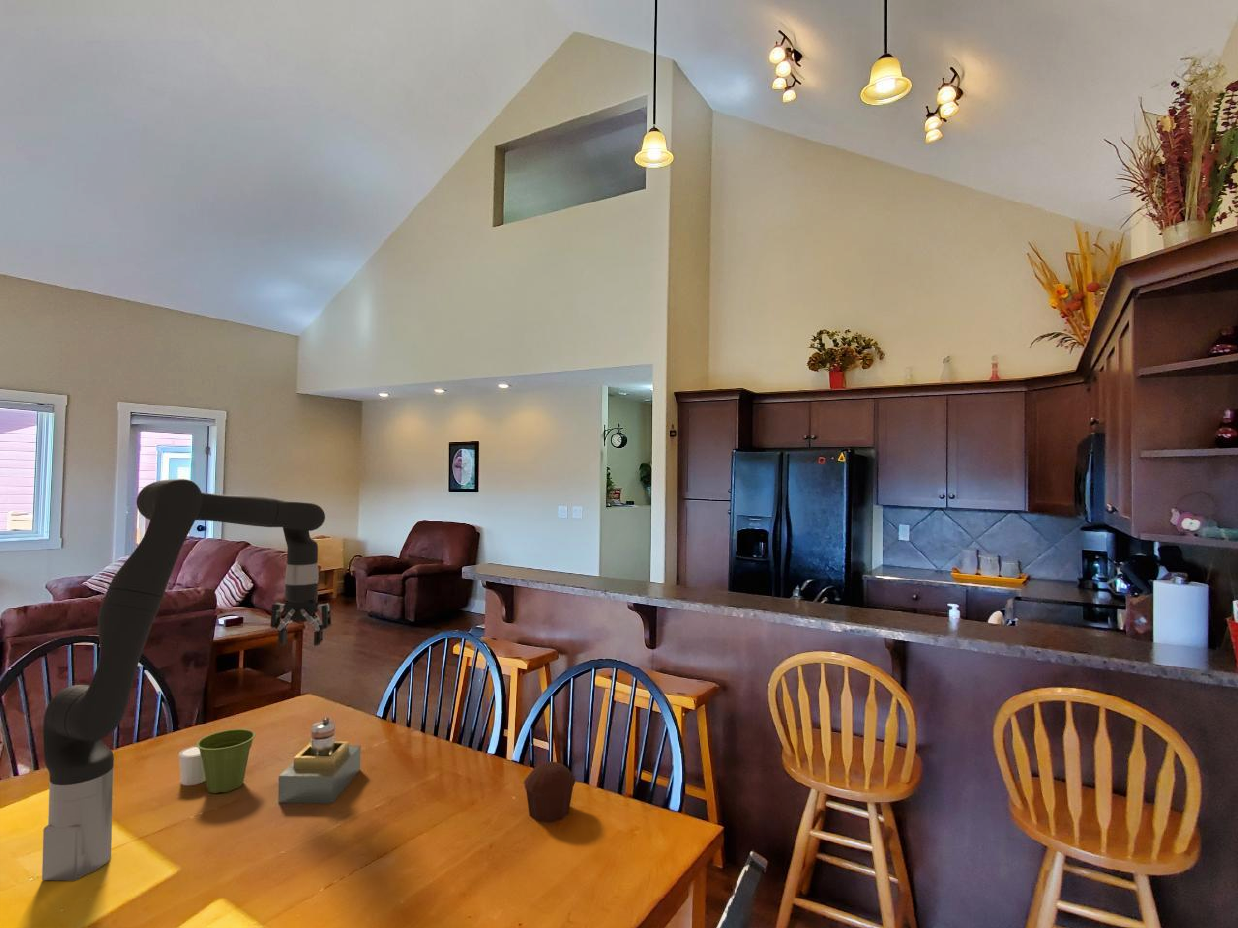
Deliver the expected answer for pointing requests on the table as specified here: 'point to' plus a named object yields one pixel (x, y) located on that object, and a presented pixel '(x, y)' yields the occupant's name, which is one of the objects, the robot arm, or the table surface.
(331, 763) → the grey block with socket
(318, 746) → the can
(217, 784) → the plant pot
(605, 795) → the table surface
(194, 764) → the white cylinder
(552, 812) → the muffin
